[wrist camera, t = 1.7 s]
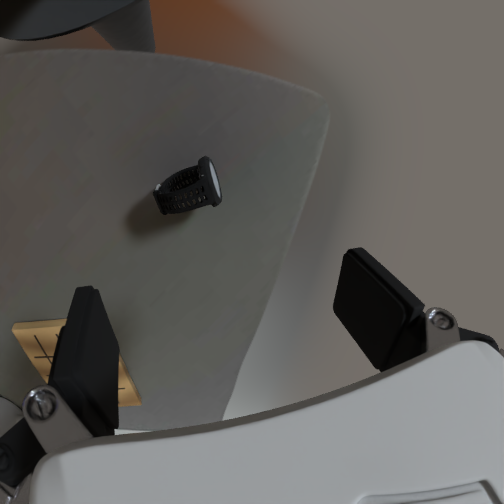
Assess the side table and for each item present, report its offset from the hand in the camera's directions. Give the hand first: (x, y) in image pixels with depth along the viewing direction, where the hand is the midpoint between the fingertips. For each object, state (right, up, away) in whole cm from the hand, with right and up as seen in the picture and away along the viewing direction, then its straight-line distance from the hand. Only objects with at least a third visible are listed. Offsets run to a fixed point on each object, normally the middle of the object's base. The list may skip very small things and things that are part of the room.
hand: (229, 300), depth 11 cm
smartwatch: (-5, +8, +12) cm, 15 cm away
